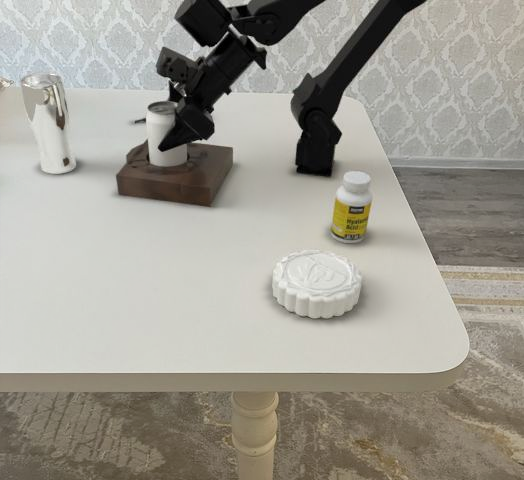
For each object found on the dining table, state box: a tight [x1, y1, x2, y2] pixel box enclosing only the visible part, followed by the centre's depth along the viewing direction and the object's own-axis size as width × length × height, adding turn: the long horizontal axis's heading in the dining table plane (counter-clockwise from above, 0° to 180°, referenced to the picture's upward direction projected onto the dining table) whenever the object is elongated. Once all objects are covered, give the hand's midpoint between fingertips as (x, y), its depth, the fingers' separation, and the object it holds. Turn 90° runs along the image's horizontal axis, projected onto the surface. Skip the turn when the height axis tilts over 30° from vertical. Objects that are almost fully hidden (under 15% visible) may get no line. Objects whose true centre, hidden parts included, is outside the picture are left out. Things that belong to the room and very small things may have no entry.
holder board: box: [115, 137, 234, 208], centre depth 103 cm, size 17×16×4 cm
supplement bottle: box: [330, 170, 373, 244], centre depth 89 cm, size 5×5×10 cm
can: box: [145, 100, 187, 167], centre depth 101 cm, size 6×6×12 cm
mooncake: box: [271, 249, 363, 319], centre depth 80 cm, size 12×12×4 cm
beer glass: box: [19, 72, 77, 175], centre depth 101 cm, size 7×7×15 cm
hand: (158, 138), depth 100 cm, fingers open, 9 cm apart
